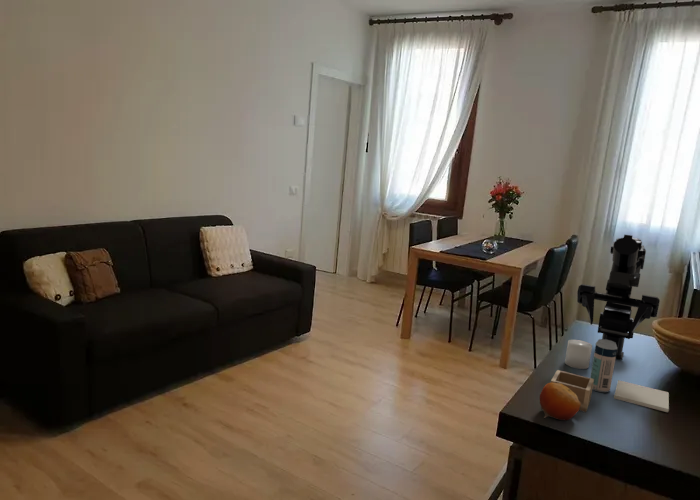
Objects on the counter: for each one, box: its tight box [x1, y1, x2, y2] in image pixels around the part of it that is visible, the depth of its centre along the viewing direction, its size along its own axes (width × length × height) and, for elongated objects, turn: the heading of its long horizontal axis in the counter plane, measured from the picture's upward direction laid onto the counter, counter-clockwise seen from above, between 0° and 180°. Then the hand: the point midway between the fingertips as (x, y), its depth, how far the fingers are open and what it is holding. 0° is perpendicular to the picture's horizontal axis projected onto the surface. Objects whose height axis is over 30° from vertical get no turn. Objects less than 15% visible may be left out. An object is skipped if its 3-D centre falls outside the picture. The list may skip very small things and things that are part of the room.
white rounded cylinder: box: [564, 339, 593, 370], centre depth 145 cm, size 6×6×6 cm
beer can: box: [589, 338, 617, 393], centre depth 129 cm, size 5×5×12 cm
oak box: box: [550, 369, 594, 413], centre depth 122 cm, size 8×8×5 cm
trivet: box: [613, 379, 670, 413], centre depth 128 cm, size 11×11×1 cm
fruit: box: [539, 381, 581, 421], centre depth 114 cm, size 8×8×8 cm
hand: (611, 327), depth 135 cm, fingers open, 9 cm apart
